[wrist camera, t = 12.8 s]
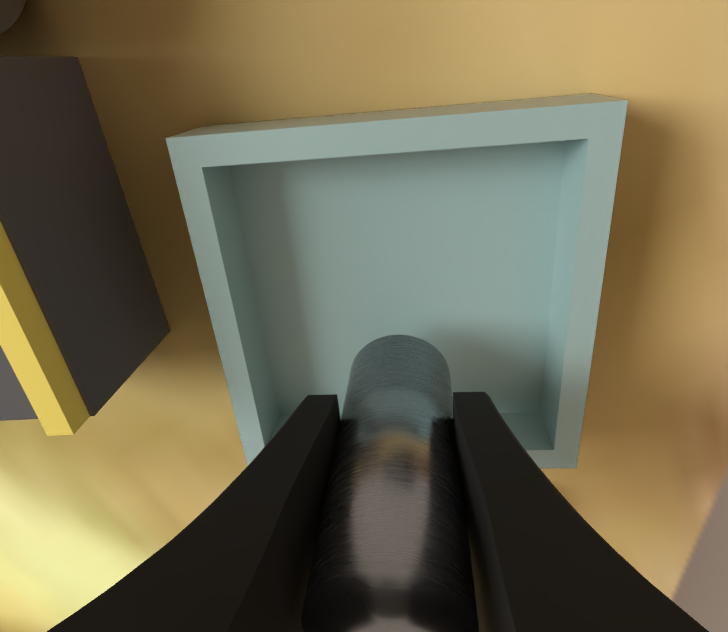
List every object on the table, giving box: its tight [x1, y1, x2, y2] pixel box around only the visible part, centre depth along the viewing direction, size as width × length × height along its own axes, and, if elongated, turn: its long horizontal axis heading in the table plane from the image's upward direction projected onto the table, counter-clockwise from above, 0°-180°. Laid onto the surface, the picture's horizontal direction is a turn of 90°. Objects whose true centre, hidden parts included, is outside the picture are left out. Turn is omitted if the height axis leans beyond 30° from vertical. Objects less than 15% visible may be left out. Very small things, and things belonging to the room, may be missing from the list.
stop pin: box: [301, 335, 479, 632], centre depth 9 cm, size 2×2×6 cm
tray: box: [165, 93, 628, 468], centre depth 12 cm, size 9×9×2 cm
